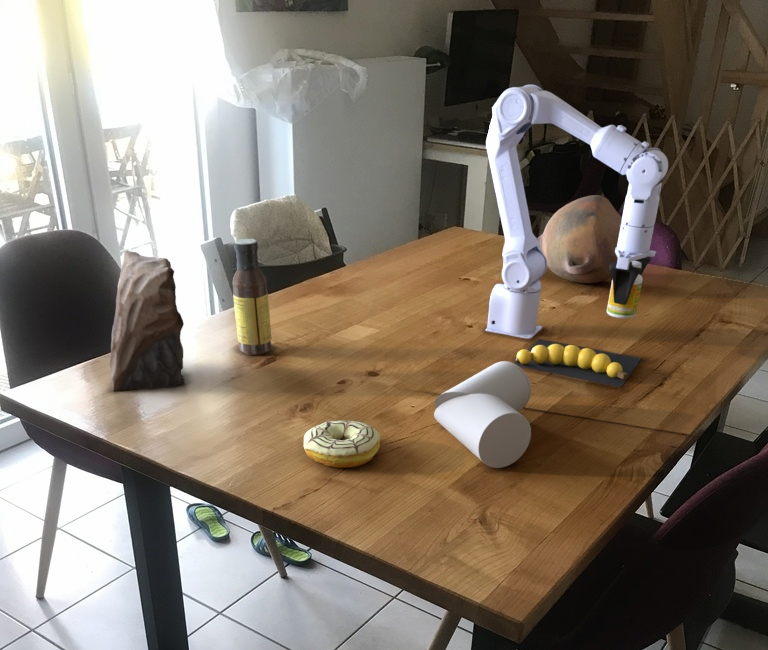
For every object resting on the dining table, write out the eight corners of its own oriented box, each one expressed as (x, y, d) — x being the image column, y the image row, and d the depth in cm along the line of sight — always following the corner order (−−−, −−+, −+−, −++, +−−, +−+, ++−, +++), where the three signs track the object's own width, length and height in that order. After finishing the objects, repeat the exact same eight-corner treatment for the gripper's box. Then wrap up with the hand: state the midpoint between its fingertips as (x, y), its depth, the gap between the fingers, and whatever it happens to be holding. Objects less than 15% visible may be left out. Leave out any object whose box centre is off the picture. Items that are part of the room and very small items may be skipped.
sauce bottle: (267, 342, 154) (262, 235, 143) (275, 353, 149) (270, 243, 138) (234, 346, 152) (226, 237, 141) (241, 357, 147) (233, 246, 137)
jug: (638, 282, 195) (523, 282, 211) (645, 195, 190) (526, 202, 205) (613, 283, 179) (490, 284, 195) (619, 189, 174) (492, 197, 189)
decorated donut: (321, 433, 122) (321, 410, 120) (388, 445, 119) (389, 422, 117) (293, 463, 113) (292, 439, 111) (364, 477, 110) (365, 452, 108)
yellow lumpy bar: (513, 366, 146) (515, 346, 143) (520, 354, 151) (522, 335, 149) (625, 383, 140) (629, 362, 138) (628, 370, 145) (632, 350, 143)
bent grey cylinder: (402, 409, 126) (463, 467, 111) (419, 345, 122) (484, 395, 106) (495, 416, 134) (564, 470, 119) (514, 355, 130) (588, 403, 114)
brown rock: (130, 362, 144) (113, 248, 133) (200, 364, 144) (189, 250, 133) (108, 390, 133) (88, 268, 122) (185, 393, 133) (171, 271, 122)
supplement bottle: (636, 320, 149) (647, 267, 144) (606, 317, 150) (616, 265, 145) (634, 311, 154) (644, 259, 149) (605, 308, 155) (614, 257, 149)
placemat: (511, 366, 146) (511, 364, 146) (538, 340, 159) (539, 338, 158) (620, 389, 139) (621, 387, 139) (641, 360, 151) (641, 358, 151)
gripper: (652, 235, 136) (636, 313, 143) (668, 219, 147) (653, 293, 154) (610, 229, 139) (597, 306, 146) (629, 214, 150) (616, 287, 157)
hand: (623, 299), depth 150 cm, fingers closed on supplement bottle, 5 cm apart
